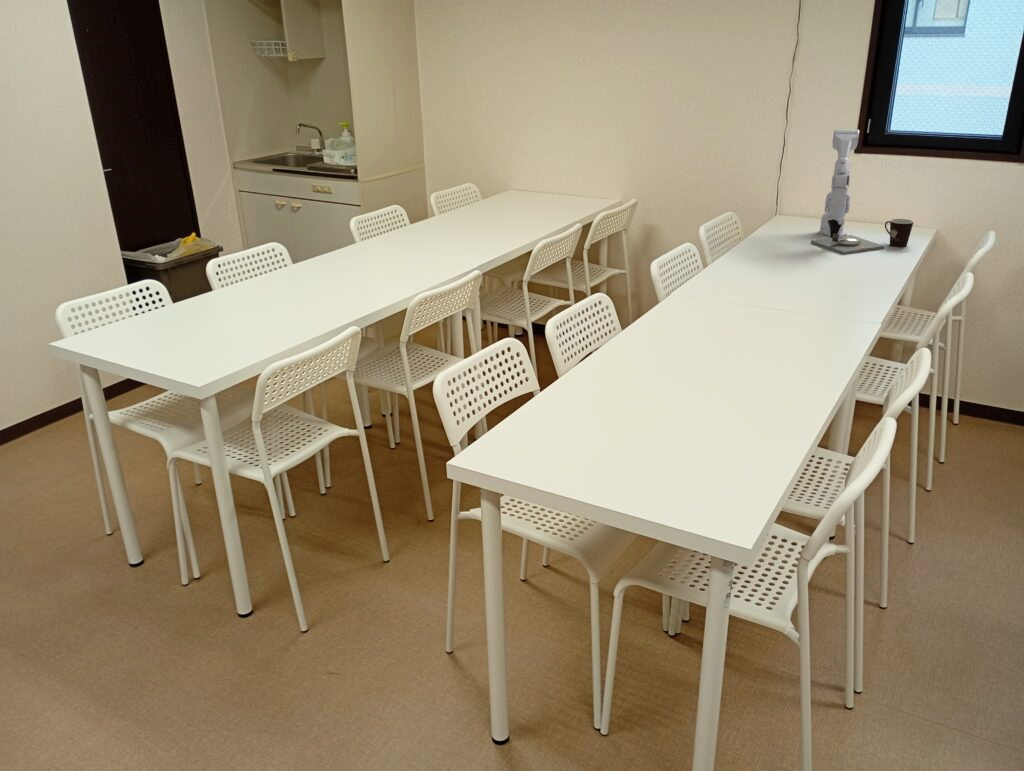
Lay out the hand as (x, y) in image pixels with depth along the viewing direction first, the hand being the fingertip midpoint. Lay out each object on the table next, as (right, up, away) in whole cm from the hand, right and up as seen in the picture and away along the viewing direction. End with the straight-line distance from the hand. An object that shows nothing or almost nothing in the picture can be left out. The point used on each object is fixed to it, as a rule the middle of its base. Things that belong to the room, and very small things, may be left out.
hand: (833, 237), depth 338 cm
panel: (+7, -3, +3) cm, 8 cm away
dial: (+5, -2, +2) cm, 6 cm away
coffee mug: (+27, -2, +2) cm, 27 cm away
